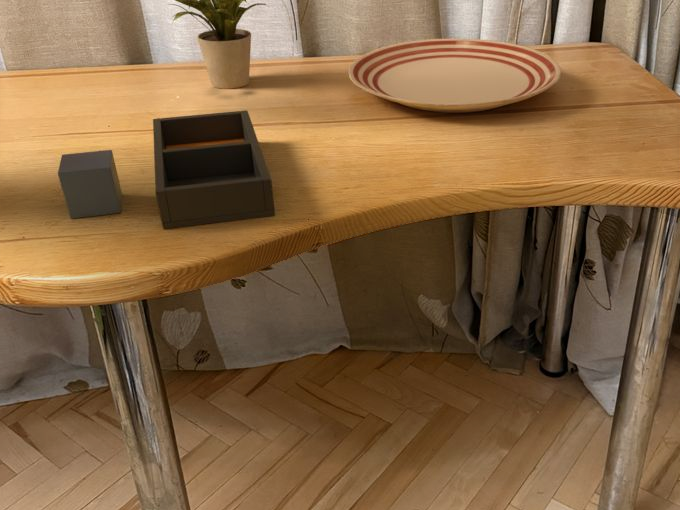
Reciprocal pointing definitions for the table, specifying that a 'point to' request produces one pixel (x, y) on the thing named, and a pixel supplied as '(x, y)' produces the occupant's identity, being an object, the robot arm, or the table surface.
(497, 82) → the dinner plate
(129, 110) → the table surface
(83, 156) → the gray cube
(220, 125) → the sorter
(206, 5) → the house plant
